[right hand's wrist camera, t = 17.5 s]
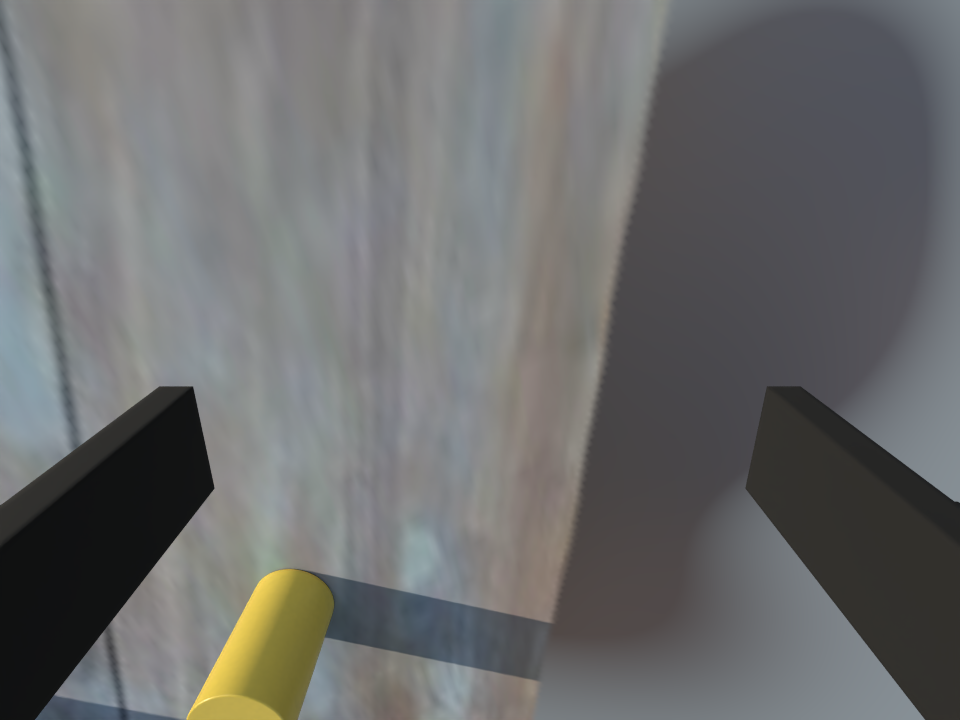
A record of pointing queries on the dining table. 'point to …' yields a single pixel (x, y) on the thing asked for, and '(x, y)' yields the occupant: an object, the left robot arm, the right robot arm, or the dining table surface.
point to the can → (269, 651)
